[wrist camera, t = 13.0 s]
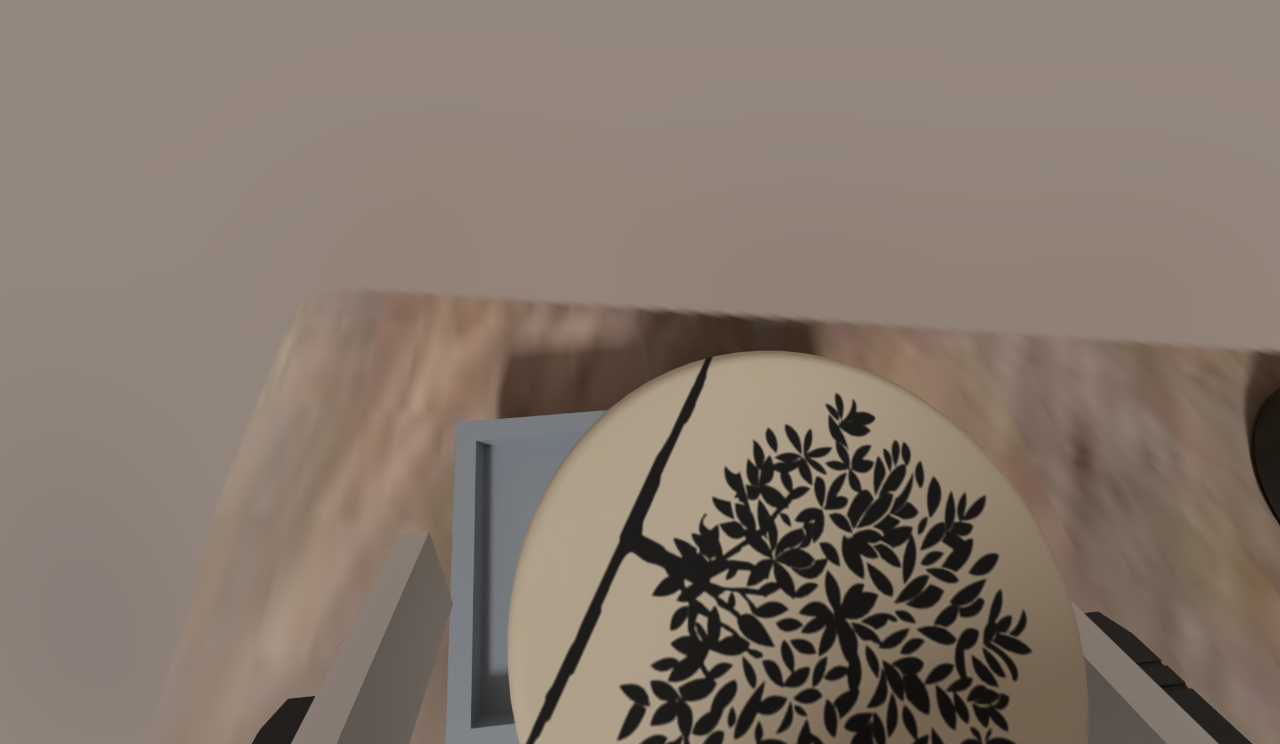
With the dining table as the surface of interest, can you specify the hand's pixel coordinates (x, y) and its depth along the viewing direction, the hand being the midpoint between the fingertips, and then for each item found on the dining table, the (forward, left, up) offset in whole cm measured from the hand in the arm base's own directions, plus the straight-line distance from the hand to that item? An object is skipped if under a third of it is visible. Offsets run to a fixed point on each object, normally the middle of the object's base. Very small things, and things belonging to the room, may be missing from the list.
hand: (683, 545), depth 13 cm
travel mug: (-1, +1, -11) cm, 11 cm away
